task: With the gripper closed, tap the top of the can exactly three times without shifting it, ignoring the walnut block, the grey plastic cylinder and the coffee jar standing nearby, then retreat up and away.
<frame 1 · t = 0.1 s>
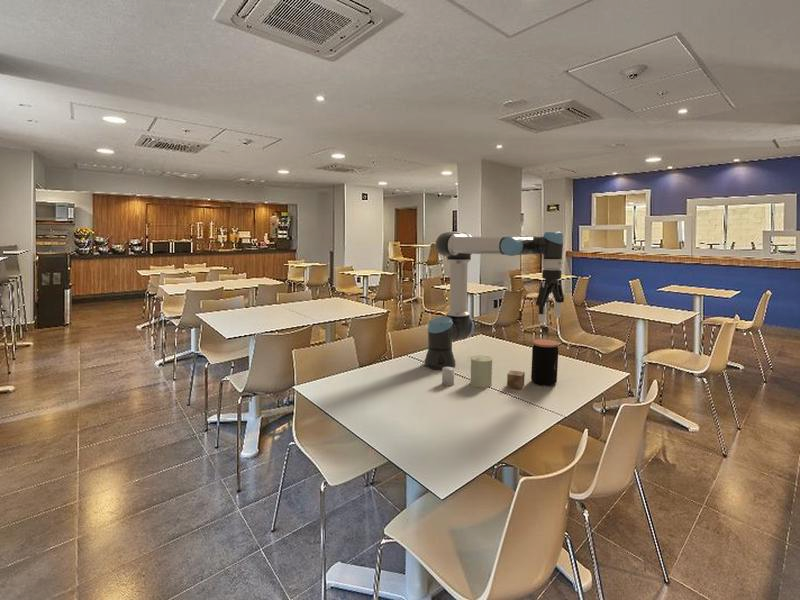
hand: (549, 319, 183), 28 cm above the table, fingers open, 13 cm apart
can: (480, 384, 186), on the table
grey cylinder: (448, 384, 186), on the table
walnut block: (515, 386, 183), on the table
coffee jar: (543, 382, 187), on the table
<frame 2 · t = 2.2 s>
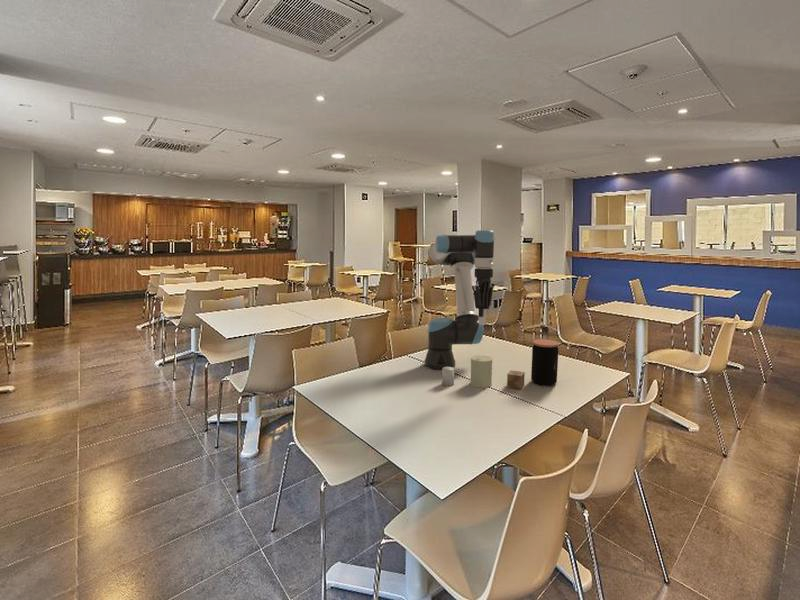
hand: (482, 324, 182), 26 cm above the table, fingers closed
nothing on the table moved.
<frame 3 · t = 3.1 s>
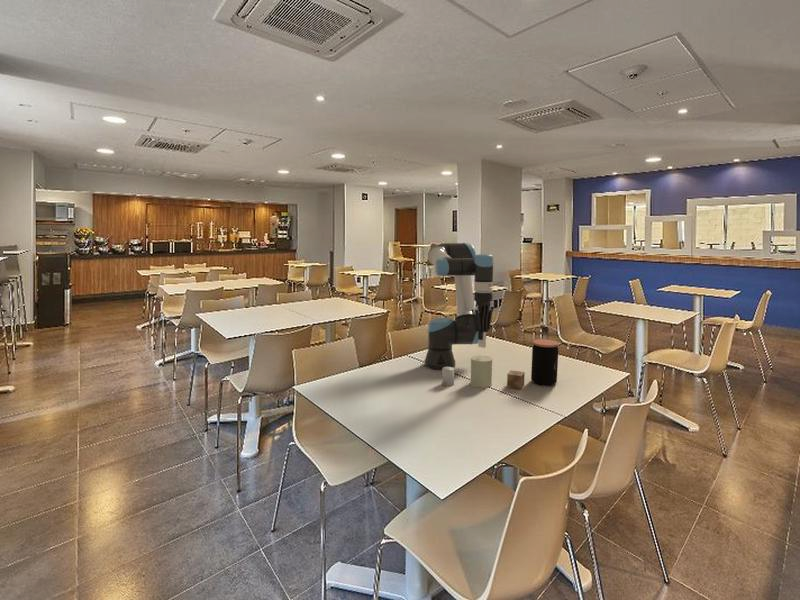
hand: (482, 346, 183), 17 cm above the table, fingers closed
nothing on the table moved.
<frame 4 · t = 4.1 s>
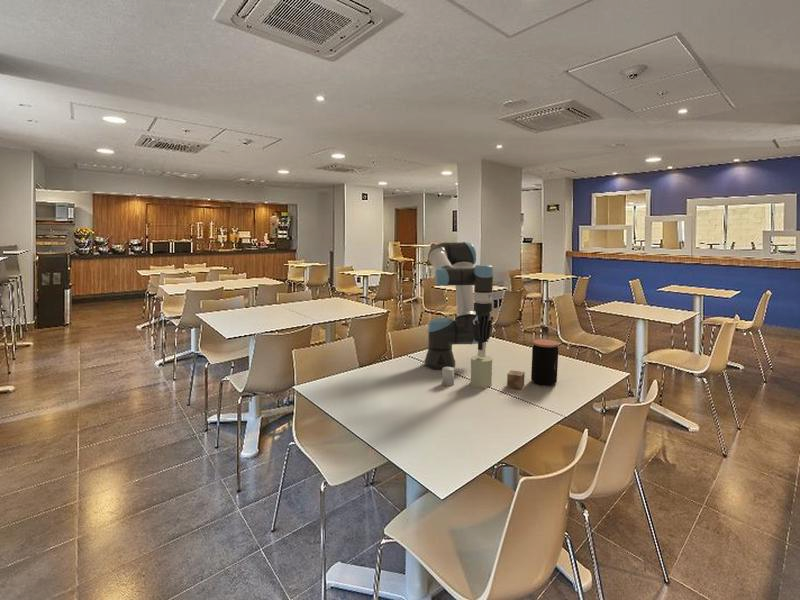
hand: (481, 356, 184), 12 cm above the table, fingers closed
can: (480, 384, 186), on the table, touching gripper
everything else where it was.
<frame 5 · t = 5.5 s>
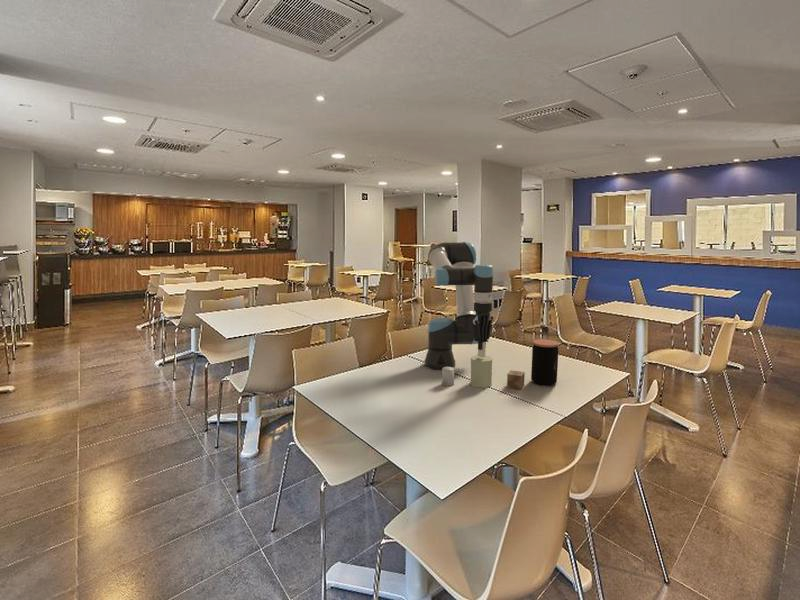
hand: (481, 356, 184), 12 cm above the table, fingers closed
nothing on the table moved.
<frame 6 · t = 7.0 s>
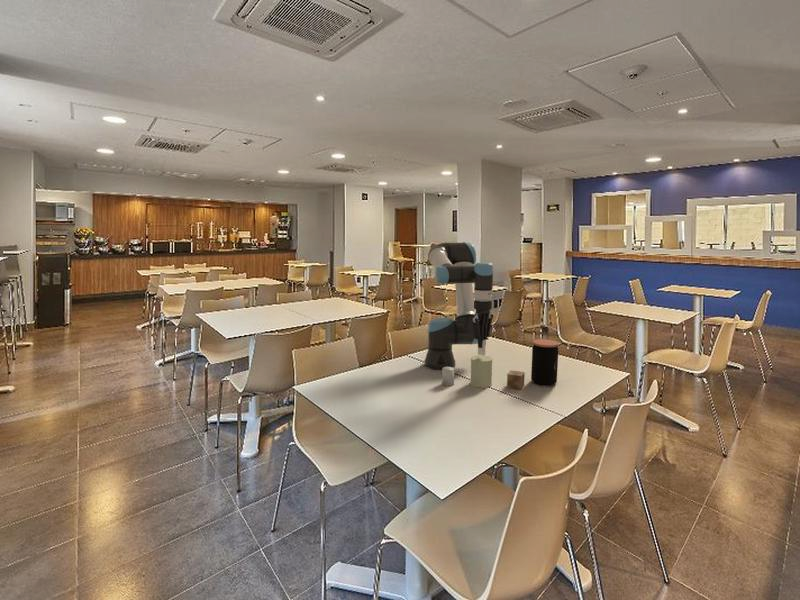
hand: (481, 354, 184), 13 cm above the table, fingers closed
can: (480, 384, 186), on the table
everything else where it was.
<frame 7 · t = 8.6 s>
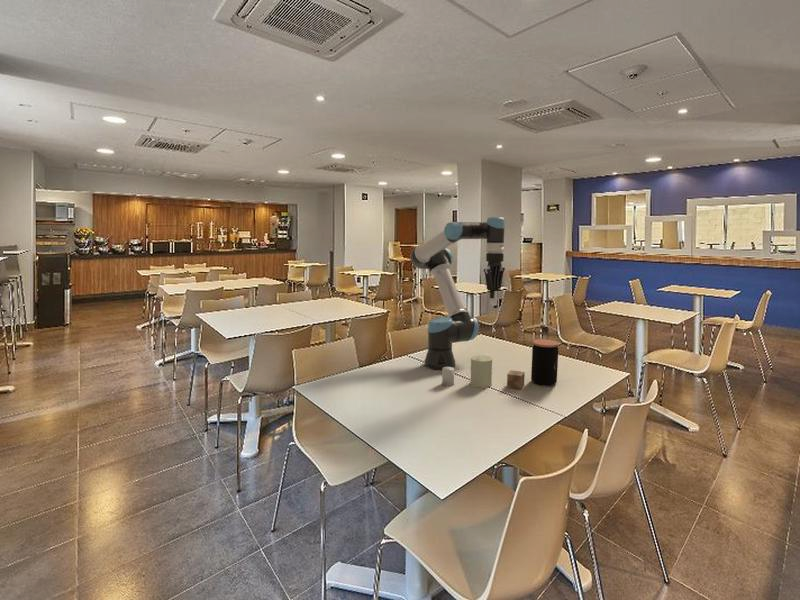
hand: (493, 305, 195), 32 cm above the table, fingers closed
nothing on the table moved.
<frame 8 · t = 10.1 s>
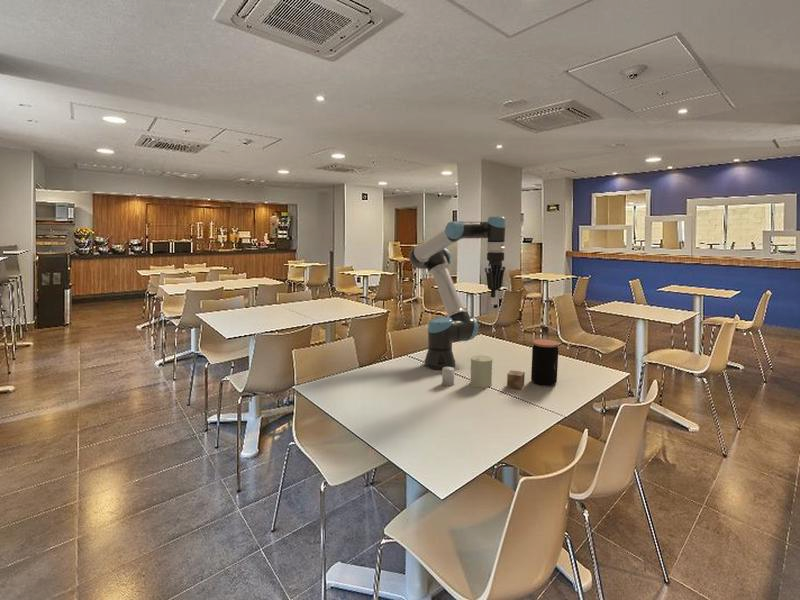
hand: (494, 304, 195), 32 cm above the table, fingers closed
nothing on the table moved.
at the end: can moved 0.2 cm from its start; can tilted 0°; can touching table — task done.
